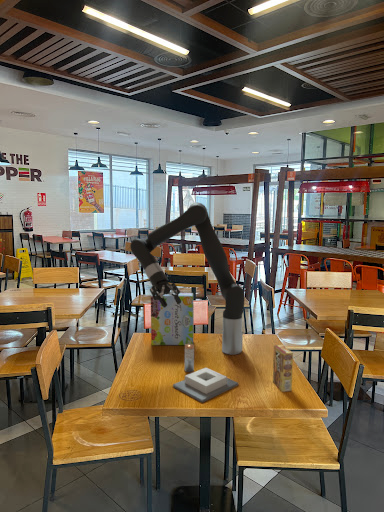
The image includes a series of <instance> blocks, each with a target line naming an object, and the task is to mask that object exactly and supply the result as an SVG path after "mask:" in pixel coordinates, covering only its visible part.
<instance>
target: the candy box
mask: <svg viewBox="0 0 384 512" xmlns="http://www.w3.org/2000/svg"><path fill="white" fill-rule="evenodd" d="M293 359H294V352H293V351H291V350H290V349H289V348H287V347H286V346H285V345H283V344H278V345H276V344H275V345H273V364H272V367H273V368H272V374H273V375H272V383H273V384H275V386H276V387H277V388H278V390H280V392H283V393H285V392H292V389H293V386H292V385H293V365H294V364H293V362H294V360H293Z"/></svg>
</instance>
